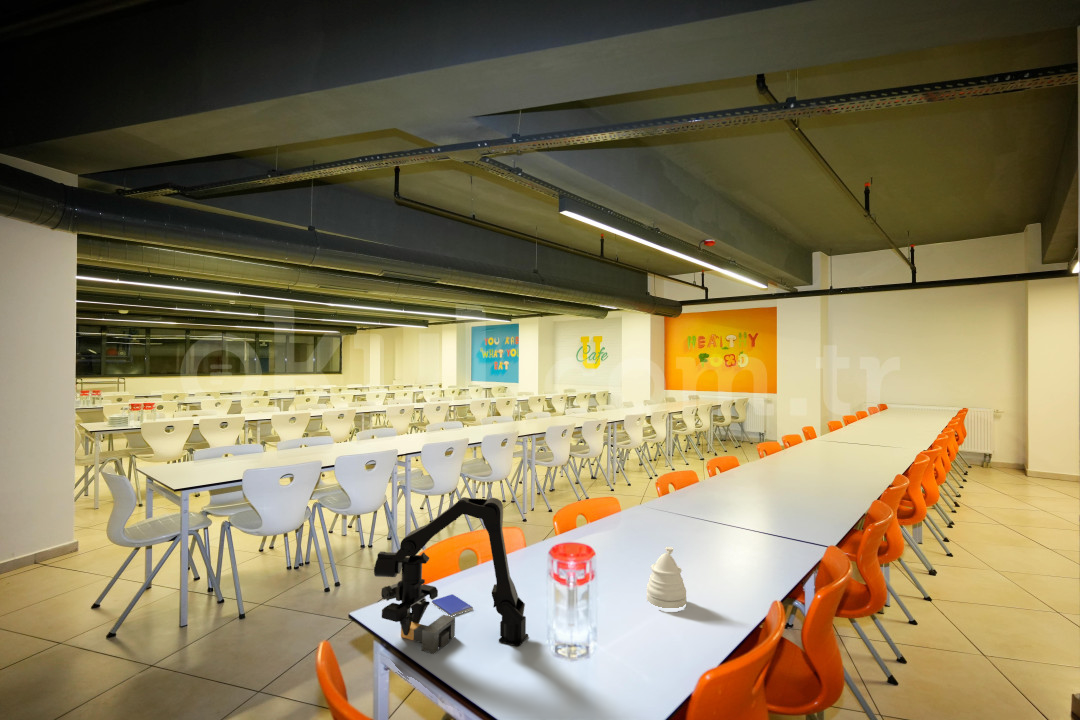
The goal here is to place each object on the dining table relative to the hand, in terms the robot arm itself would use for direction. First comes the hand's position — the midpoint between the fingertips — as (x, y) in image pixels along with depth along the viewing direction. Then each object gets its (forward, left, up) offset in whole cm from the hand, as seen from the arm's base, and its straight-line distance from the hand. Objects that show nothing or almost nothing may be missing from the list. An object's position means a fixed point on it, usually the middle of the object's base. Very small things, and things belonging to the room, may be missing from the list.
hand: (410, 632), depth 144 cm
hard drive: (0, -21, -2) cm, 21 cm away
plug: (-5, 0, -1) cm, 5 cm away
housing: (-10, 0, -1) cm, 10 cm away
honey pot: (-64, -53, -1) cm, 83 cm away
